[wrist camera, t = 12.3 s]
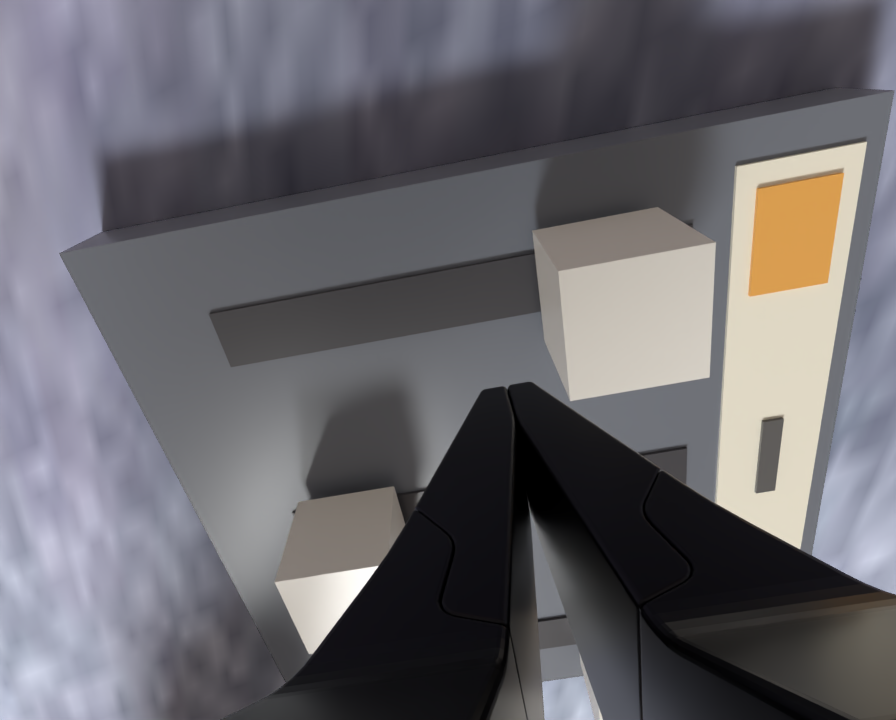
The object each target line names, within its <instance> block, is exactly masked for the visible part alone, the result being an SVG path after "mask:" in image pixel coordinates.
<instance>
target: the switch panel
mask: <svg viewBox="0 0 896 720" xmlns="http://www.w3.org/2000/svg"><path fill="white" fill-rule="evenodd" d="M893 95H894V91H893V90H873V89H853V88H833V89H827V90H822V91H817V92H812V93H807V94H802V95H797V96H792V97H787V98H782V99H777V100H771V101H766V102H761V103H756V104H751V105H746V106H741V107H736V108H731V109H726V110H721V111H716V112H710V113H705V114H700V115H695V116H690V117H685V118H680V119H675V120H670V121H665V122H660V123H654V124H649V125H644V126H639V127H634V128H629V129H624V130H619V131H614V132H609V133H604V134H599V135H593V136H588V137H583V138H578V139H573V140H568V141H563V142H558V143H553V144H548V145H543V146H537V147H532V148H527V149H522V150H517V151H512V152H507V153H502V154H497V155H492V156H487V157H482V158H476V159H471V160H466V161H461V162H456V163H451V164H446V165H441V166H436V167H431V168H426V169H421V170H415V171H410V172H405V173H400V174H395V175H390V176H385V177H380V178H375V179H370V180H365V181H359V182H354V183H349V184H344V185H339V186H334V187H329V188H324V189H319V190H314V191H309V192H304V193H298V194H293V195H288V196H283V197H278V198H273V199H268V200H263V201H258V202H253V203H248V204H242V205H237V206H232V207H227V208H222V209H217V210H212V211H207V212H202V213H197V214H192V215H187V216H181V217H176V218H171V219H166V220H161V221H156V222H151V223H146V224H141V225H136V226H131V227H125V228H120V229H115V230H110V231H105V232H101V233H99V234H97V235H95V236H93V237H91V238H89V239H87V240H85V241H83V242H81V243H79V244H77V245H75V246H73V247H71V248H69V249H67V250H65V251H63V252H61V253H59V254H60V256H61V258H62V260H63V262H64V264H65V266H66V267H67V269H68V271H69V273H70V275H71V277H72V279H73V281H74V283H75V284H76V286H77V288H78V290H79V292H80V294H81V296H82V298H83V300H84V301H85V303H86V305H87V307H88V309H89V311H90V313H91V315H92V317H93V318H94V320H95V322H96V324H97V326H98V328H99V330H100V332H101V334H102V336H103V337H104V339H105V341H106V343H107V345H108V347H109V349H110V351H111V353H112V354H113V356H114V358H115V360H116V362H117V364H118V366H119V368H120V370H121V371H122V373H123V375H124V377H125V379H126V381H127V383H128V385H129V387H130V389H131V390H132V392H133V394H134V396H135V398H136V400H137V402H138V404H139V406H140V407H141V409H142V411H143V413H144V415H145V417H146V419H147V421H148V423H149V424H150V426H151V428H152V430H153V432H154V434H155V436H156V438H157V440H158V441H159V443H160V445H161V447H162V449H163V451H164V453H165V455H166V457H167V459H168V460H169V462H170V464H171V466H172V468H173V470H174V472H175V474H176V476H177V477H178V479H179V481H180V483H181V485H182V487H183V489H184V491H185V493H186V494H187V496H188V498H189V500H190V502H191V504H192V506H193V508H194V510H195V511H196V513H197V515H198V517H199V519H200V521H201V523H202V525H203V527H204V529H205V530H206V532H207V534H208V536H209V538H210V540H211V542H212V544H213V546H214V547H215V549H216V551H217V553H218V555H219V557H220V559H221V561H222V563H223V564H224V566H225V568H226V570H227V572H228V574H229V576H230V578H231V580H232V582H233V583H234V585H235V587H236V589H237V591H238V593H239V595H240V597H241V599H242V600H243V602H244V604H245V606H246V608H247V610H248V612H249V614H250V616H251V617H252V619H253V621H254V623H255V625H256V627H257V629H258V631H259V633H260V634H261V636H262V638H263V640H264V642H265V644H266V646H267V648H268V650H269V652H270V653H271V655H272V657H273V659H274V661H275V663H276V665H277V667H278V669H279V670H280V672H281V674H282V676H283V678H284V680H285V682H288V681H289V680H290V679H291V678H292V677H293V676H294V675H295V674H296V673H297V672H298V671H299V670H300V669H301V668H302V667H303V665H304V664H305V663H306V662H307V660H308V659H309V658H310V657H311V656H312V654H309V653H308V651H307V649H306V647H305V645H304V643H303V641H302V639H301V637H300V635H299V632H298V630H297V628H296V626H295V624H294V622H293V620H292V618H291V616H290V614H289V612H288V609H287V607H286V605H285V603H284V601H283V599H282V597H281V595H280V593H279V591H278V588H277V586H276V584H275V579H276V576H277V572H278V569H279V565H280V562H281V559H282V555H283V552H284V549H285V545H286V542H287V539H288V535H289V532H290V528H291V525H292V522H293V518H294V515H295V512H296V508H297V505H298V502H301V501H307V500H313V499H319V498H325V497H331V496H337V495H343V494H349V493H356V492H362V491H368V490H374V489H380V488H386V487H392V486H394V488H395V491H396V495H397V498H398V501H399V505H400V508H401V512H402V515H403V518H404V522H405V524H406V522H407V521H408V519H409V517H410V515H411V513H412V512H413V511H414V510H415V507H416V505H417V503H418V502H419V500H420V498H421V496H422V495H423V493H424V491H425V489H426V488H427V486H428V484H429V482H430V480H431V479H432V477H433V475H434V473H435V472H436V470H437V468H438V466H439V465H440V463H441V461H442V459H443V458H444V456H445V454H446V452H447V451H448V449H449V447H450V445H451V443H452V442H453V440H454V438H455V436H456V435H457V433H458V431H459V429H460V428H461V426H462V424H463V422H464V421H465V419H466V417H467V415H468V414H469V412H470V410H471V408H472V406H473V405H474V403H475V401H476V399H477V398H478V396H479V394H480V392H481V391H482V390H484V389H488V388H494V387H500V386H504V387H506V388H508V386H510V385H512V384H517V383H523V382H533V383H535V384H536V385H538V386H539V387H541V388H542V389H544V390H545V391H547V392H548V393H550V394H551V395H553V396H554V397H556V398H557V399H558V400H560V401H561V402H563V403H564V404H566V405H567V406H569V407H570V408H572V409H573V410H575V411H576V412H578V413H579V414H581V415H582V416H584V417H585V418H587V419H588V420H590V421H591V422H593V423H594V424H596V425H597V426H599V427H600V428H602V429H603V430H605V431H606V432H608V433H609V434H611V435H612V436H614V437H615V438H617V439H618V440H620V441H621V442H622V443H624V444H625V445H627V446H628V447H630V448H631V449H633V450H634V451H636V452H637V453H639V454H640V455H642V456H643V457H645V458H646V459H648V460H649V461H651V462H652V463H654V464H655V465H657V466H658V467H660V469H661V471H663V470H664V471H666V472H667V473H669V474H670V475H672V476H673V477H675V478H676V479H678V480H679V481H681V482H682V483H684V484H686V485H687V486H689V487H690V488H692V489H693V490H695V491H697V492H698V493H700V494H701V495H703V496H705V497H706V498H708V499H709V500H711V501H712V502H714V503H716V504H718V505H720V506H721V507H723V508H725V509H727V510H728V511H730V512H732V513H734V514H736V515H737V516H739V517H741V518H743V519H744V520H746V521H748V522H750V523H752V524H754V525H755V526H757V527H759V528H761V529H763V530H765V531H767V532H768V533H770V534H772V535H774V536H776V537H778V538H780V539H782V540H783V541H785V542H787V543H789V544H791V545H793V546H795V547H797V548H798V549H800V550H802V551H804V552H806V553H808V554H810V555H812V550H813V544H814V538H815V533H816V527H817V522H818V516H819V510H820V505H821V499H822V494H823V488H824V482H825V477H826V471H827V465H828V460H829V454H830V449H831V443H832V437H833V432H834V426H835V421H836V415H837V409H838V404H839V398H840V393H841V387H842V381H843V376H844V370H845V365H846V359H847V353H848V348H849V342H850V336H851V331H852V325H853V320H854V314H855V308H856V303H857V297H858V292H859V286H860V280H861V275H862V269H863V264H864V258H865V252H866V247H867V241H868V235H869V230H870V224H871V219H872V213H873V207H874V202H875V196H876V191H877V185H878V179H879V174H880V168H881V163H882V157H883V151H884V146H885V140H886V135H887V129H888V123H889V118H890V112H891V106H892V101H893ZM655 207H659V208H660V209H662V210H663V211H665V212H667V213H668V214H670V215H672V216H673V217H675V218H677V219H678V220H680V221H682V222H683V223H685V224H687V225H688V226H690V227H691V228H693V229H695V230H696V231H698V232H700V233H701V234H703V235H705V236H706V237H708V238H710V239H711V240H713V241H715V242H716V251H715V272H714V293H713V315H712V336H711V357H710V377H709V378H704V379H698V380H692V381H686V382H680V383H674V384H668V385H662V386H657V387H651V388H645V389H639V390H633V391H627V392H621V393H615V394H610V395H604V396H598V397H592V398H586V399H580V400H574V401H570V399H569V397H568V395H567V392H566V390H565V388H564V385H563V383H562V381H561V378H560V376H559V374H558V371H557V369H556V367H555V364H554V362H553V360H552V357H551V355H550V353H549V350H548V348H547V346H546V343H545V341H544V332H543V323H542V314H541V305H540V296H539V287H538V278H537V269H536V260H535V251H534V242H533V233H532V231H533V230H538V229H543V228H549V227H554V226H559V225H565V224H570V223H575V222H581V221H586V220H591V219H597V218H602V217H607V216H612V215H618V214H623V213H628V212H634V211H639V210H644V209H650V208H655ZM507 391H508V390H507ZM528 504H529V503H528ZM529 511H530V508H529ZM530 519H531V529H532V544H533V558H534V573H535V588H536V603H537V617H538V632H539V647H540V662H541V677H542V682H544V681H551V680H558V679H565V678H572V677H579V676H584V675H583V671H582V667H581V663H580V654H579V650H578V647H577V644H576V641H575V639H574V636H573V633H572V630H571V627H570V624H569V622H568V619H567V616H566V613H565V610H564V607H563V605H562V602H561V599H560V596H559V593H558V590H557V588H556V585H555V582H554V579H553V576H552V573H551V571H550V568H549V565H548V562H547V559H546V557H545V554H544V551H543V548H542V545H541V542H540V540H539V537H538V534H537V531H536V528H535V525H534V522H533V519H532V516H531V512H530Z"/></svg>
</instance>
